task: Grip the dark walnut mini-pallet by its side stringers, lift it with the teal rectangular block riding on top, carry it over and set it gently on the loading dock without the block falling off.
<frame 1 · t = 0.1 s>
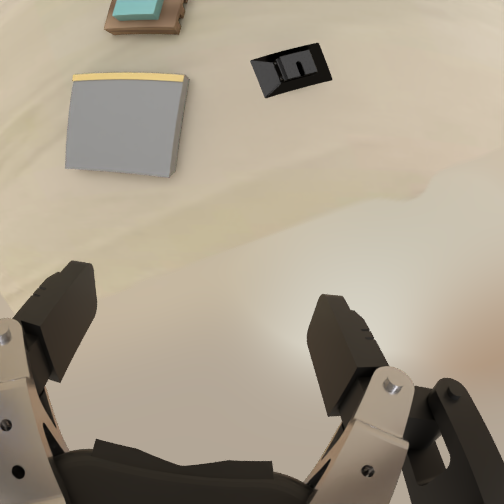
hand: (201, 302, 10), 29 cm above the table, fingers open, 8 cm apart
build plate: (291, 70, 32), on the table
pallet: (150, 14, 27), on the table, touching teal rectangular block
dock: (129, 120, 33), on the table
teal rectangular block: (142, 6, 24), point 3 cm above the table, touching pallet
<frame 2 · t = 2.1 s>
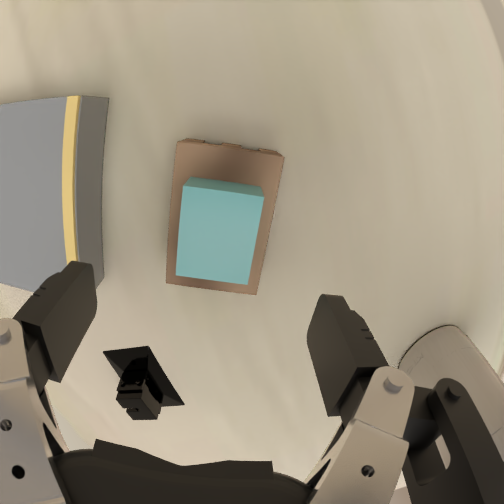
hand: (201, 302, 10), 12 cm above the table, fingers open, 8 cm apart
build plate: (145, 375, 28), on the table
pallet: (222, 207, 21), on the table, touching teal rectangular block
dock: (40, 188, 19), on the table
teal rectangular block: (219, 222, 18), point 3 cm above the table, touching pallet
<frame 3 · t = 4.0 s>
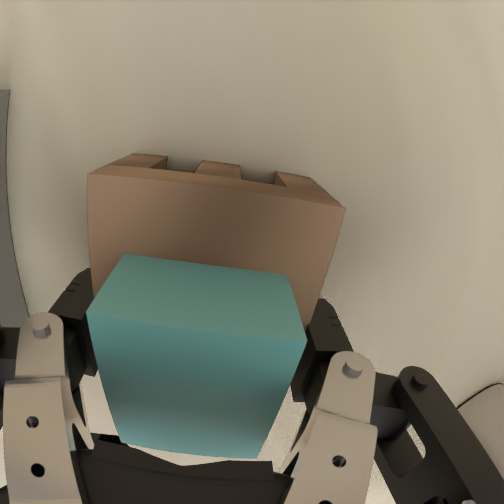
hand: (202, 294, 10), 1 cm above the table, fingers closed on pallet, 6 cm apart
pallet: (205, 281, 11), on the table, touching teal rectangular block, gripper
teal rectangular block: (197, 341, 8), point 3 cm above the table, touching pallet
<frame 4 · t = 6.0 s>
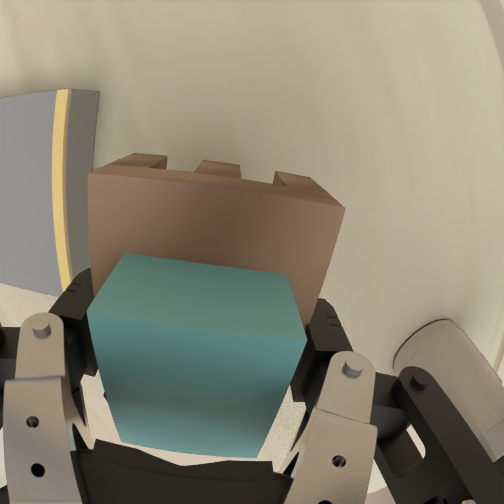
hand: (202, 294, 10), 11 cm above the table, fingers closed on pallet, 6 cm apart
pallet: (205, 281, 11), point 10 cm above the table, touching teal rectangular block, gripper
dock: (30, 184, 18), on the table
teal rectangular block: (197, 341, 8), point 13 cm above the table, touching pallet
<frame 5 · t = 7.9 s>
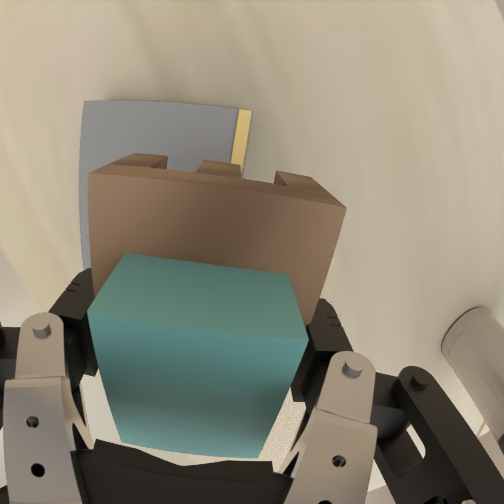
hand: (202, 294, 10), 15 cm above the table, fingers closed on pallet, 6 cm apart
pallet: (206, 281, 11), point 14 cm above the table, touching teal rectangular block, gripper
dock: (164, 188, 24), on the table
teal rectangular block: (197, 341, 8), point 18 cm above the table, touching pallet
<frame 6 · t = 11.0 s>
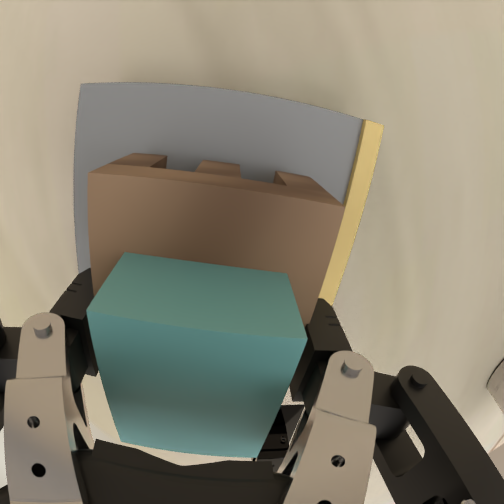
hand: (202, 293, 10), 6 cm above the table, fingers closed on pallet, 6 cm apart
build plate: (266, 425, 26), on the table
pallet: (205, 280, 11), point 5 cm above the table, touching teal rectangular block, gripper
dock: (211, 229, 16), on the table
teal rectangular block: (197, 340, 8), point 9 cm above the table, touching pallet
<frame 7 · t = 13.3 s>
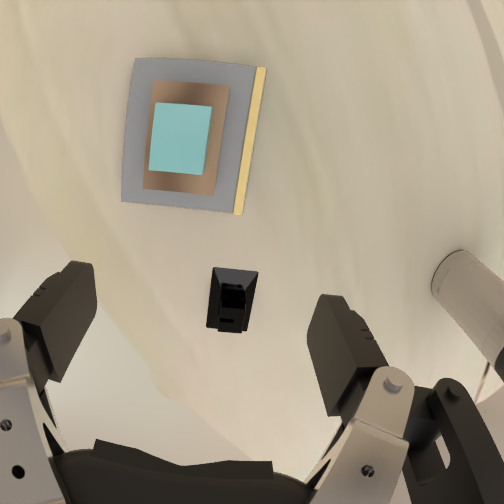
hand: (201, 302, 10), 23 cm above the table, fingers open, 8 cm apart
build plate: (230, 298, 38), on the table
pallet: (188, 134, 25), point 4 cm above the table, touching teal rectangular block, dock
dock: (192, 131, 28), on the table
teal rectangular block: (183, 136, 22), point 7 cm above the table, touching pallet
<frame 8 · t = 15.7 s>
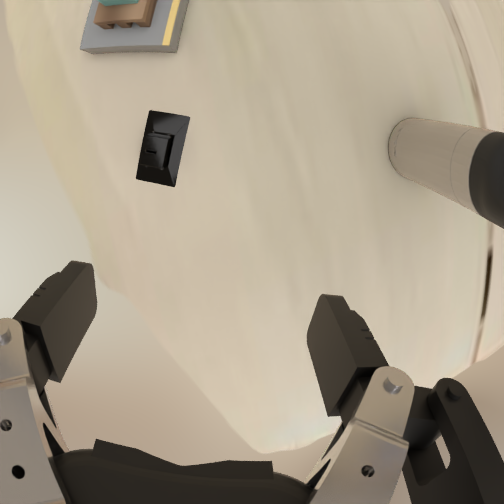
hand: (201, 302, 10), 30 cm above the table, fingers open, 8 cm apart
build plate: (162, 147, 36), on the table
dock: (143, 6, 27), on the table
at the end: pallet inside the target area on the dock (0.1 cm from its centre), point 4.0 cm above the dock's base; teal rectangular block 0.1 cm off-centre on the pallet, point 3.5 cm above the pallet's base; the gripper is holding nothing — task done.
